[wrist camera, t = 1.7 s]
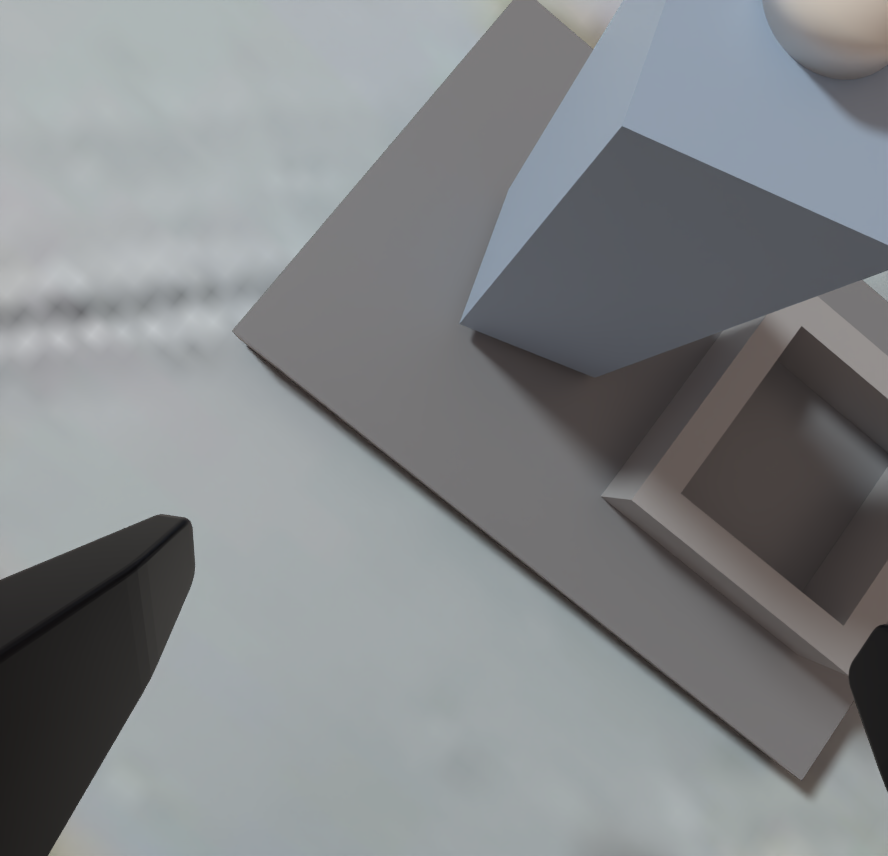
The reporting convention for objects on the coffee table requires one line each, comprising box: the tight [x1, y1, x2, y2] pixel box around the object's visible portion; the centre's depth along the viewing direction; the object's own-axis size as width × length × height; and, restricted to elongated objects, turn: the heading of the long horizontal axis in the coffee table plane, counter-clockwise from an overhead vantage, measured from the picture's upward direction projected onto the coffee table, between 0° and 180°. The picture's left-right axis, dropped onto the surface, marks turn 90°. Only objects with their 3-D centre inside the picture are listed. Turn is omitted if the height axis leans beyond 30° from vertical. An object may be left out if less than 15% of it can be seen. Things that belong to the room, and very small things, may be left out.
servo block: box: [459, 0, 888, 378], centre depth 15 cm, size 4×4×13 cm
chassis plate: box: [232, 0, 888, 781], centre depth 21 cm, size 22×14×4 cm, turn 52°
